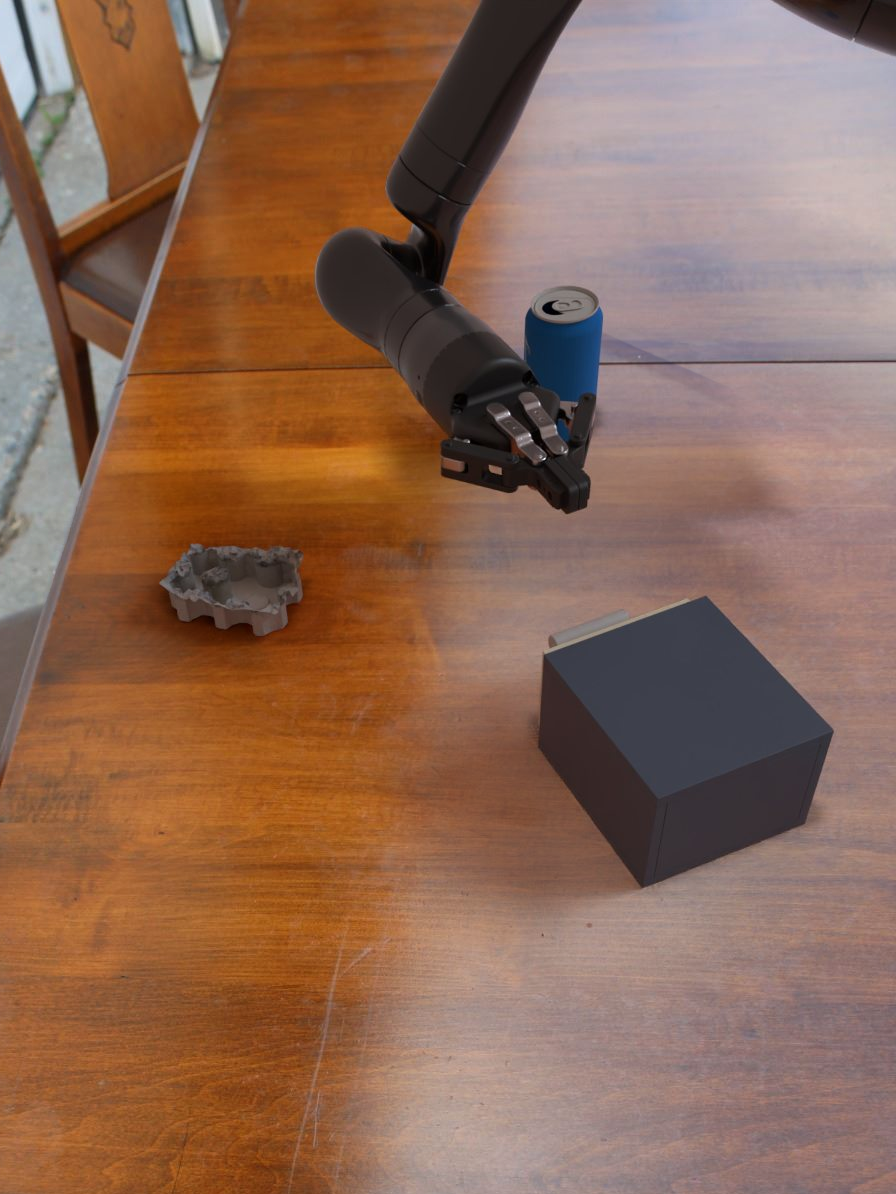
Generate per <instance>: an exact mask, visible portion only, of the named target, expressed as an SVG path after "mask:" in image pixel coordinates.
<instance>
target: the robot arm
mask: <svg viewBox="0 0 896 1194" xmlns="http://www.w3.org/2000/svg"><path fill="white" fill-rule="evenodd" d="M583 1H584V0H480V1H479V3H478V6H477V8H476V9H475V10H474V11H475V12H474V13H473V15H472V17H471V19H470V22H469V23H468V25H467V27H466V28H465V31H464V33H463V35H461V36H462V37H461V38H460V40H459V42H458V44H457V45H456V48H455V49H454V51H453V53H452V54H451V57H450V58H449V60H448V62H447V64H446V66H445V68H443V71H442V73H441V75H440V76H439V78H438V80H437V82H436V83H435V85H434V87H433V89H432V91H431V93H430V95H429V96H428V98H427V99H426V102H425V104H424V105H423V107H422V109H421V111H420V113H419V114H418V116H417V118H416V120H415V122H414V124H413V126H412V128H411V130H410V131H409V133H408V135H407V137H406V138H405V140H404V143H403V144H402V146H401V148H400V150H399V152H398V154H397V155H396V158H395V159H394V161H393V163H392V165H391V167H390V169H389V172H388V173H387V176H386V180H385V183H384V184H385V185H384V186H385V188H384V190H385V193H386V197H387V199H388V201H389V203H390V204H391V206H392V207H393V208H394V209H395V211H396V212H398V213H399V214H400V215H401V216H402V217H403V218H405V220H407V221H408V222H410V224H411V226H410V230H409V233H408V236H407V237H406V239H405V240H404V241H401V240H399V239H396V238H394V237H391V236H388V235H385V234H383V233H380V232H378V231H375V230H372V229H370V228H367V227H362V226H349V227H345V228H342V229H340V230H338V231H336V232H335V233H333V234H332V235H331V236H329V238H328V239H327V240H326V241H325V243H324V244H323V245H322V247H321V248H320V251H319V253H318V255H317V259H316V262H315V267H314V284H315V290H316V294H317V297H318V300H319V302H320V304H321V307H323V309H324V311H325V312H326V313H327V314H328V315H329V317H331V319H333V320H334V322H336V324H338V325H339V326H340V327H342V328H343V329H345V331H347V332H349V333H350V334H351V335H353V336H354V337H355V338H357V339H359V340H360V341H361V342H362V343H364V344H365V345H367V346H369V347H370V348H372V349H374V350H375V351H377V352H378V353H380V354H381V355H382V356H383V357H384V358H385V359H386V361H387V362H388V364H389V365H390V366H391V367H392V368H393V369H394V371H395V372H396V373H397V374H398V375H399V376H400V378H401V379H402V380H403V381H404V382H405V384H406V385H407V386H408V388H409V390H410V393H411V394H412V395H413V397H414V398H415V400H416V401H417V402H418V404H419V405H420V406H421V407H422V408H423V410H425V412H426V413H427V414H428V415H429V417H430V418H431V419H432V420H433V421H434V422H435V423H436V425H438V427H439V428H440V429H441V430H442V431H443V432H444V433H445V435H446V436H447V437H448V438H445V439H443V440H441V442H440V443H439V445H440V447H439V450H440V475H441V477H443V478H446V479H450V480H454V481H458V482H461V483H466V484H469V485H474V486H478V487H480V488H481V487H482V488H486V489H490V490H493V491H498V492H501V493H505V494H513V493H515V492H517V491H518V490H519V487H524V486H527V487H528V488H529V489H530V490H533V491H537V492H538V493H539V494H540V495H541V497H542V498H543V499H544V500H545V501H546V503H548V504H549V506H551V508H552V509H555V510H558V511H560V510H561V511H562V512H563V513H564V514H565V515H571V514H573V513H576V512H578V511H581V510H584V509H586V508H588V503H589V500H590V496H591V487H592V486H591V484H592V481H591V477H590V476H589V474H587V473H586V471H584V468H585V464H586V460H587V455H588V453H589V448H590V444H591V440H592V436H593V432H594V429H595V419H596V411H597V410H596V409H597V396H596V395H595V394H593V393H583V394H582V395H580V398H579V401H578V402H569V401H560V398H559V396H558V395H557V394H556V393H555V392H553V391H550V390H547V389H545V388H543V387H541V386H540V384H539V383H538V381H537V379H536V377H535V375H534V373H533V371H532V370H531V368H530V367H529V366H528V365H527V364H526V363H525V362H524V359H523V358H522V357H521V356H520V355H519V354H518V353H517V352H516V351H515V350H514V349H513V348H512V347H511V346H510V345H509V344H508V343H507V342H506V341H505V340H504V339H503V338H502V337H501V336H500V335H499V334H498V333H497V332H496V331H495V330H494V329H493V328H492V327H491V326H490V325H489V324H488V323H486V322H485V320H483V319H481V318H480V317H478V316H477V315H475V314H474V313H473V312H471V311H470V310H468V308H467V307H466V306H465V305H464V304H463V303H462V302H461V301H460V300H459V299H458V298H457V297H456V296H455V295H454V294H453V293H452V292H451V291H450V290H449V289H447V288H446V287H445V283H446V279H447V276H448V272H449V268H450V266H451V263H452V260H453V256H454V253H455V250H456V248H457V245H458V241H459V239H460V235H461V231H462V228H463V226H464V223H465V220H466V217H467V216H468V213H469V212H470V210H471V209H472V207H473V206H474V204H475V202H476V201H477V199H478V197H479V196H480V194H481V193H482V191H483V189H484V187H485V185H486V184H487V181H488V180H489V179H490V178H491V175H492V174H493V172H494V170H495V169H496V167H497V165H498V163H499V162H500V160H501V158H502V156H503V154H504V153H505V152H506V151H505V150H506V149H507V148H508V145H509V143H510V141H511V139H512V138H513V136H514V134H515V131H516V130H517V127H518V125H519V123H520V120H521V119H522V117H523V115H524V111H525V110H526V107H527V105H528V103H529V101H530V98H531V96H532V94H533V92H534V90H535V87H536V85H537V83H538V80H539V78H540V75H541V74H542V72H543V70H544V67H545V65H546V64H547V62H548V60H549V57H550V56H551V53H552V52H553V50H554V48H555V47H556V44H557V42H558V41H559V39H560V37H561V35H562V34H563V32H564V30H565V29H566V27H567V26H568V24H569V22H570V21H571V20H572V17H573V16H574V15H575V13H576V11H577V10H578V8H579V7H580V5H581V4H582V2H583ZM770 1H772V2H773V3H774V4H776V5H778V6H779V7H781V8H783V9H784V10H786V11H787V12H790V13H792V14H793V15H795V16H797V17H799V18H800V19H802V20H804V21H806V22H808V23H810V24H812V25H813V26H816V27H817V28H819V29H821V30H823V31H826V32H828V33H831V34H833V35H835V36H837V37H839V38H842V39H844V40H847V41H849V42H853V43H855V44H856V45H859V46H863V47H865V48H868V49H871V50H873V51H876V52H879V53H882V54H884V55H888V56H890V57H895V58H896V0H770ZM559 419H561V420H563V421H564V422H565V426H566V427H567V428H568V429H569V440H568V441H567V442H564V441H563V440H562V438H561V437H560V436H559V435H558V432H557V425H558V420H559ZM490 466H492V467H496V468H501V472H500V473H501V474H500V473H496V472H493V471H491V470H490Z"/></svg>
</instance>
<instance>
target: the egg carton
mask: <svg viewBox="0 0 896 1194" xmlns="http://www.w3.org/2000/svg"><path fill="white" fill-rule="evenodd" d="M303 559H304V553H303V552H302V550H300V549H294V548H293V547H291V546H290V547H289V546H287V547H284V546H281V545H277V546H276V545H275V546H272V545H270V546H269V549H268V550H265V549H262V548H259V547H256V546H254V547H253V548H242V547H239V546H236V545H221V546H217V547H216V546H209V547H208V548H205V546H204V545H202V544H201V543H193V542H192V543H190V545H189V548H188V551H187V553H186V551H183V552H182V553H181V555H180V558H179V560H177V561H175V562H174V565H173V566H172V567H170V568H169V569H168V572H167V575H166V576H165V577H164V578H163V579H161V581H159V585H161V587H163V588H164V589H166V590H167V591H168V594H169V598H170V603H171V607H172V608H173V609H175V610H176V612H177V617H178V620H179V621H182V622H187V623H190V622H192V621H193V620H194V619H197V618H199V617H200V616H209V617H211V618H213V619H214V625H215V628H217V629H220V630H228V629H229V628H231V627H232V626H234V625H237V624H249V625H250V626H252V631H253V635H254V636H256V637H264V636H266V635H268V634H271V633H272V632H274V631H279V630H283V629H284V628H285V627H286V625H288V624H289V622H288V621H289V618H288V613H287V606H288V605H291V604H299V603H300V602H301V600H302V599H303V596H304V593H303V587H302V580H301V574H300V573H299V572H298V571H297V570H298V569H299V568H300V566H301V565H302V561H303Z"/></svg>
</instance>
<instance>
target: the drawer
mask: <svg viewBox="0 0 896 1194" xmlns="http://www.w3.org/2000/svg"><path fill="white" fill-rule="evenodd" d="M689 601H690V600H689V598H684V599H681V600H679V601H676V602H673V603H670V604H667V605H665V606H662V607H660V608H657V609H655V610H651V611H648V612H646V613H643V614H640V615H637V616H635V617H631V618H630V616H629V613H628V612H627V611H626V609H624V608H621V609H619V610H616V611H614V612H611V613H608V614H604V615H602V616H600V617H596V618H593V619H591V620H588V621H586V622H583V623H580V624H577V625H574V626H572V627H569V628H566V629H564V630H561V631H558V632H556V633H552V634H550V635H549V636H548V638H547V641H548V646H549V648H547V649H544V650H542V652H541V653H542V655H541V672H540V685H539V687H540V688H539V703H538V720H537V726H538V727H539V724H540V708H541V692H542V676H543V664H544V663H543V659H544V654H547V653H550V652H552V651H555V650H558V649H561V648H563V647H566V646H569V645H572V644H574V643H577V642H580V641H583V640H585V639H588V638H591V637H593V636H596V635H599V634H602V633H604V632H607V631H610V630H613V629H615V628H618V627H621V626H624V625H626V624H629V623H632V622H635V621H637V620H640V619H643V618H646V617H648V616H651V615H654V614H657V613H659V612H662V611H665V610H668V609H670V608H673V607H676V606H678V605H681V604H684V603H687V602H689Z"/></svg>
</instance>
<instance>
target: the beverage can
mask: <svg viewBox="0 0 896 1194" xmlns="http://www.w3.org/2000/svg"><path fill="white" fill-rule="evenodd" d="M603 325H604V312H603V311H602V308H601V306H600V299H599V296H598V295H597V294H596V293H595V292H594V291H592V290H590V289H588V288H585V287H582V286H577V285H557V286H553V287H549V288H546V289H543V290H542V291H539V292H537V294H535V295H534V296H533V297H532V299H531V302H530V307H529V308H528V310H527V312H526V314H525V317H524V338H523V339H524V340H523V341H524V342H523V361H524V362H525V363H526V364H527V365H528V366H529V367H530V368H531V370H532V371H533V373H534V375H535V377H536V379H537V381H538V383H539V384H540V386H541V387H543V388H545V389H547V390H550V391H553V392H555V393H556V394H557V395H558V396H559V398H560V401H569V402H578V401H579V398H580V395H582V394H583V393H593V394H595V395H596V397H597V395H598V383H599V371H600V361H601V360H600V359H601V348H602V338H603V337H602V336H603ZM557 432H558V435H559V436H560V437H561V438H562V440H563V441H564V442H567V441H568V440H569V429H568V428H567V427H566V426H565V422H564V421H563V420H561V419H559V420H558V425H557Z"/></svg>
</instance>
